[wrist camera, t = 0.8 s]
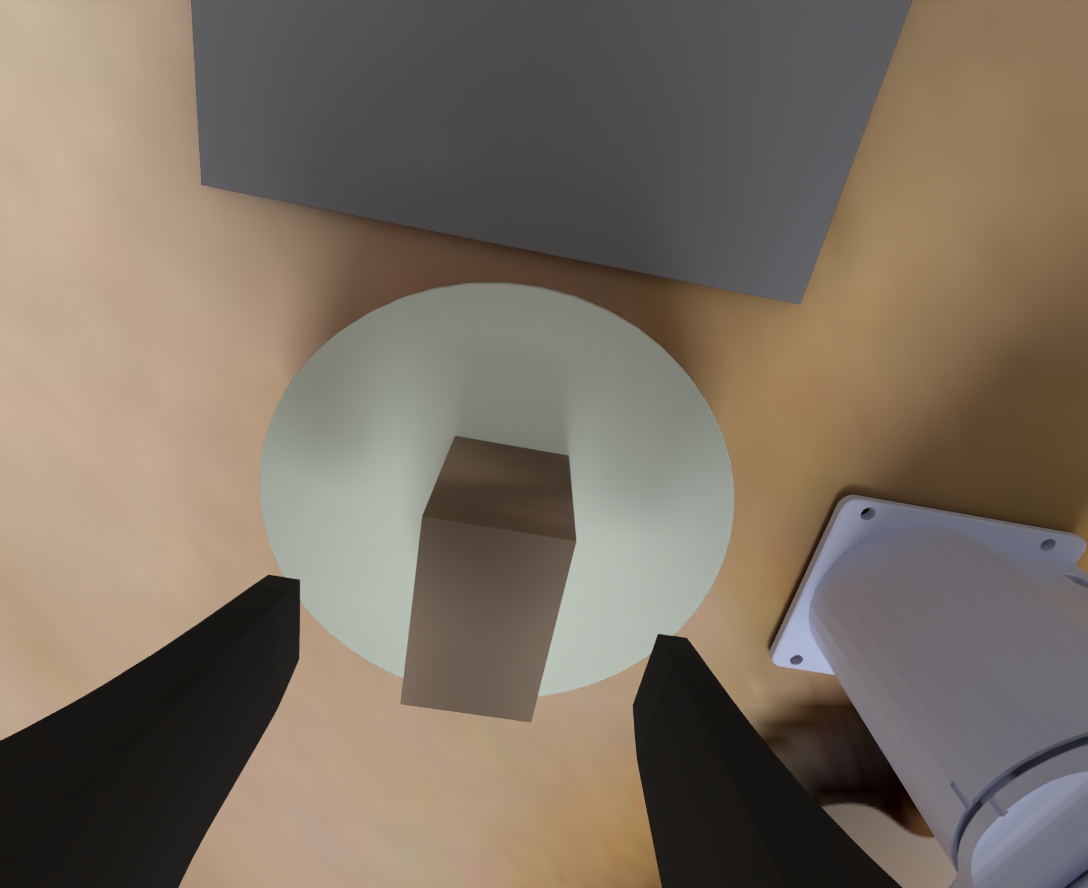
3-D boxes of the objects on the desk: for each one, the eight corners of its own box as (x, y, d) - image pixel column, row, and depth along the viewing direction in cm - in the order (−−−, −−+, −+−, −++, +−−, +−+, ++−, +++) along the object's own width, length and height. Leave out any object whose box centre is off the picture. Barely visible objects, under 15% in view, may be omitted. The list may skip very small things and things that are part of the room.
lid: (797, 336, 14) (910, 393, 9) (657, 708, 19) (690, 854, 14) (266, 232, 13) (125, 244, 8) (272, 652, 18) (185, 790, 14)
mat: (986, -223, 12) (999, -237, 12) (794, 302, 17) (800, 304, 17) (177, -447, 11) (165, -470, 11) (209, 185, 16) (201, 185, 16)
